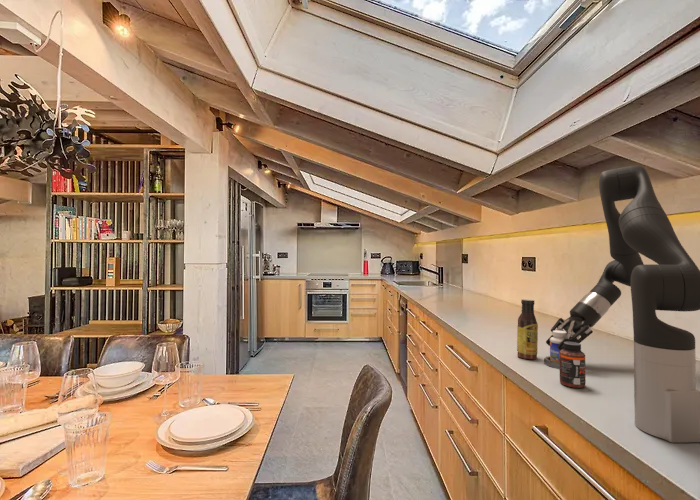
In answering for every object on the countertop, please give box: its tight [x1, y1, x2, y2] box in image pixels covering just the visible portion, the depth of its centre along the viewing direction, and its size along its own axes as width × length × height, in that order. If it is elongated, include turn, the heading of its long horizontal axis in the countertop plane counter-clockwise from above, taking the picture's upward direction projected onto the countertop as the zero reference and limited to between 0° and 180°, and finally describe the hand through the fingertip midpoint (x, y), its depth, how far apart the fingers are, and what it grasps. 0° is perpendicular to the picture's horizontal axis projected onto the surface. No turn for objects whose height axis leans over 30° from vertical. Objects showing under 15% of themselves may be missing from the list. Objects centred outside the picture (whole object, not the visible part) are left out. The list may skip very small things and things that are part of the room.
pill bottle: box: [549, 329, 567, 363], centre depth 112 cm, size 5×5×10 cm
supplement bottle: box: [559, 342, 587, 389], centre depth 95 cm, size 6×6×11 cm
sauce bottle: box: [516, 298, 539, 360], centre depth 120 cm, size 6×6×20 cm
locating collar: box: [543, 355, 560, 370], centre depth 112 cm, size 8×8×2 cm
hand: (554, 346), depth 112 cm, fingers open, 5 cm apart
